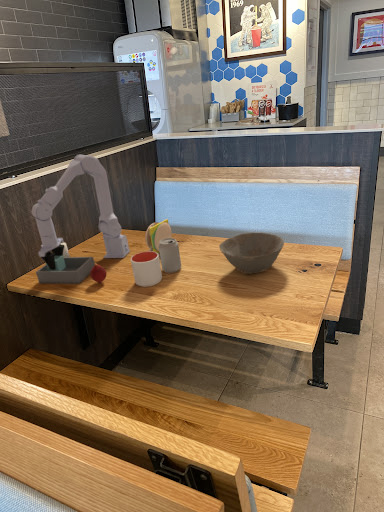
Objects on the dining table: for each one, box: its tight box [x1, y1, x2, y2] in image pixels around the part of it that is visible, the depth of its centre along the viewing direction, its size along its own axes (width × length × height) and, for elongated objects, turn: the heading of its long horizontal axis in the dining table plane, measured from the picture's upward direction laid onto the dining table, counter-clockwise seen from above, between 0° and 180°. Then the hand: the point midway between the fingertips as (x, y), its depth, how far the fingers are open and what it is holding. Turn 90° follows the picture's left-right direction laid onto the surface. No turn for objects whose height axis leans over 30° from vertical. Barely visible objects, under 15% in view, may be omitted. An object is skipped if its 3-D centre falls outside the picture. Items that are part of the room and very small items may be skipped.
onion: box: [89, 262, 108, 284], centre depth 146 cm, size 6×6×8 cm
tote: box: [35, 256, 95, 285], centre depth 156 cm, size 18×14×5 cm
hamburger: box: [144, 218, 173, 254], centre depth 169 cm, size 12×8×12 cm
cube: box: [44, 256, 66, 271], centre depth 156 cm, size 5×5×5 cm
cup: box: [130, 250, 163, 288], centre depth 142 cm, size 10×10×10 cm
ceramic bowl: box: [218, 232, 285, 274], centre depth 141 cm, size 22×23×10 cm
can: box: [158, 237, 182, 274], centre depth 149 cm, size 8×8×12 cm
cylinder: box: [60, 241, 71, 257], centre depth 173 cm, size 5×5×7 cm
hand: (56, 266), depth 156 cm, fingers closed on cube, 5 cm apart
